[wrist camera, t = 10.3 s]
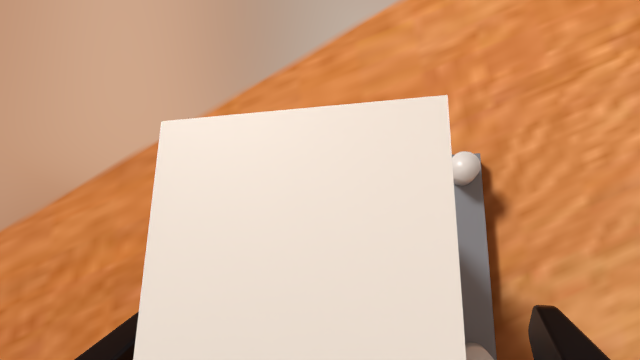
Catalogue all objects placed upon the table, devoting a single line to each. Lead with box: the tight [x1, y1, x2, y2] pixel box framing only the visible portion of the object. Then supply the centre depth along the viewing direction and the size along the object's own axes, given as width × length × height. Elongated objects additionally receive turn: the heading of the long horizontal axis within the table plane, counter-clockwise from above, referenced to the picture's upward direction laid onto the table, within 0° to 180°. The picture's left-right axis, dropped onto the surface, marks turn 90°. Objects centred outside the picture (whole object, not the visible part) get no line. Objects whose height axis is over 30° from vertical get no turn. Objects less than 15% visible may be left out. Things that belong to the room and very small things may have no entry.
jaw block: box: [133, 95, 466, 360], centre depth 12 cm, size 5×5×14 cm
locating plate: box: [452, 152, 497, 360], centre depth 18 cm, size 11×11×2 cm
